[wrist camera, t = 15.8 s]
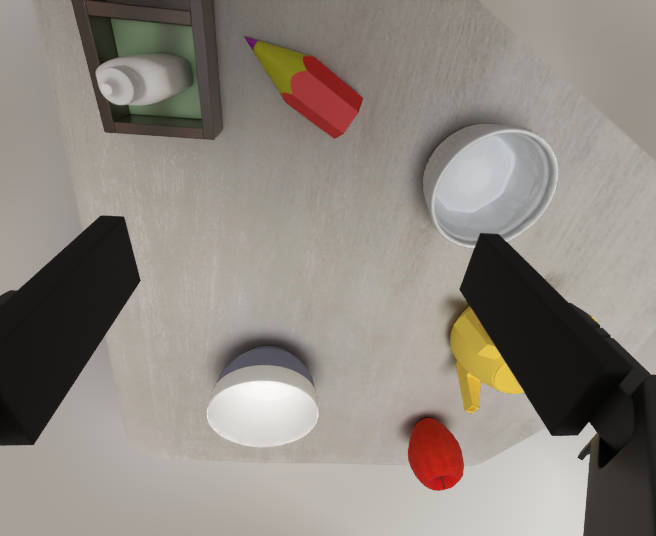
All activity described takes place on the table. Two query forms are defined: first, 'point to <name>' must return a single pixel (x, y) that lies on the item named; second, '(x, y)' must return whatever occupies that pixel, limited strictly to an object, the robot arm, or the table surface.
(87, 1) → the divided wooden box
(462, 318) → the teapot
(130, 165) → the table surface
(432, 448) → the apple
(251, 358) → the bowl
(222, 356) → the table surface
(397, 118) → the table surface
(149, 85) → the eye dropper bottle
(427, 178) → the ramekin
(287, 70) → the pencil
